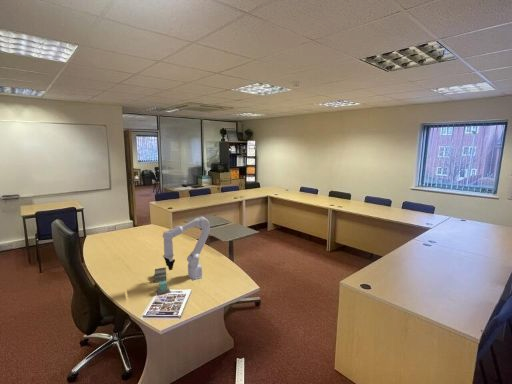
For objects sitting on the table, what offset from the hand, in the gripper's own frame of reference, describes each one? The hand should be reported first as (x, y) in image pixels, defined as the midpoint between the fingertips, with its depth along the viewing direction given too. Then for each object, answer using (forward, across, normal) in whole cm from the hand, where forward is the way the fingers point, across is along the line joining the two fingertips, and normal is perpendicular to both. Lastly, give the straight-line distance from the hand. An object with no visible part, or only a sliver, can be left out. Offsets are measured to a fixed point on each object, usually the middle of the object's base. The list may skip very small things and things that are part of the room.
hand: (169, 267), depth 185 cm
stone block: (+11, -9, -5) cm, 15 cm away
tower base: (+11, +13, -7) cm, 18 cm away
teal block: (+7, +13, -7) cm, 16 cm away
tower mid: (+9, +13, -7) cm, 17 cm away
